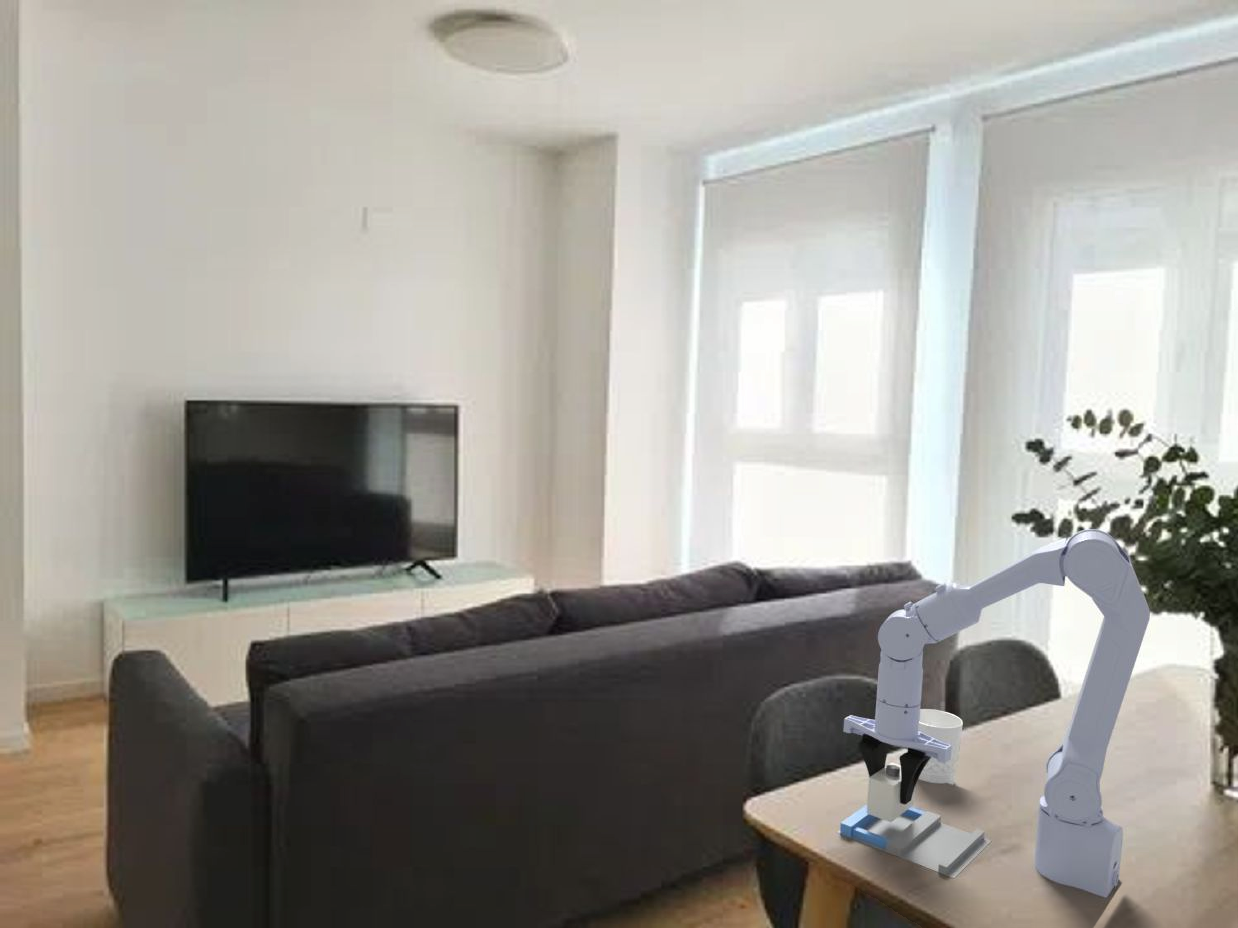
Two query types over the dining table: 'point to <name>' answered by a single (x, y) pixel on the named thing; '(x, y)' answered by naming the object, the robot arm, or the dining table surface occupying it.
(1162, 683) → the dining table surface
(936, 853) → the board
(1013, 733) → the dining table surface
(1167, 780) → the dining table surface
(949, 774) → the white cup
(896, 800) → the white knob-topped box
